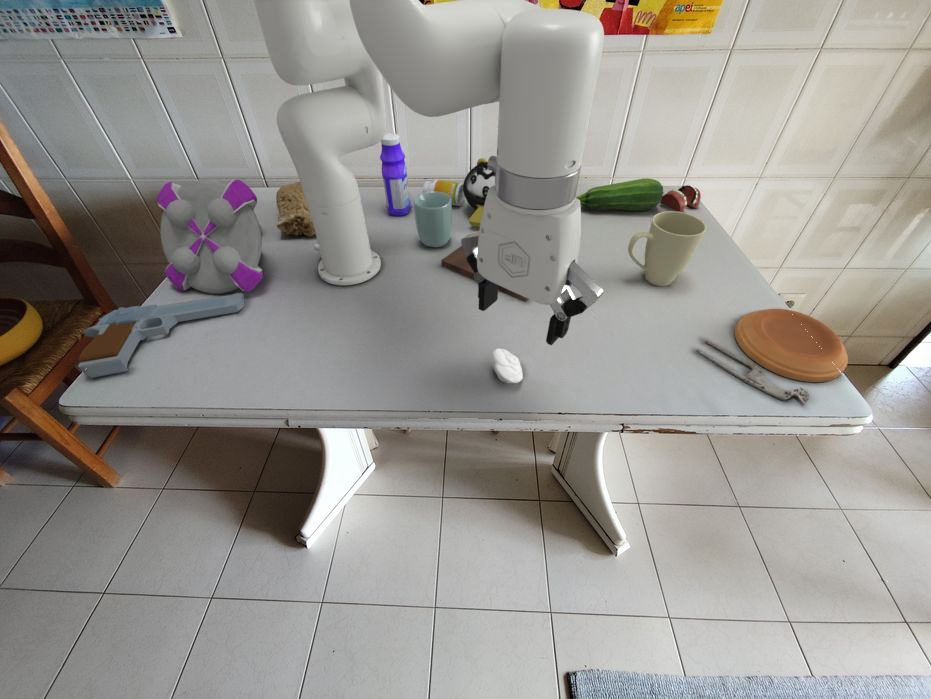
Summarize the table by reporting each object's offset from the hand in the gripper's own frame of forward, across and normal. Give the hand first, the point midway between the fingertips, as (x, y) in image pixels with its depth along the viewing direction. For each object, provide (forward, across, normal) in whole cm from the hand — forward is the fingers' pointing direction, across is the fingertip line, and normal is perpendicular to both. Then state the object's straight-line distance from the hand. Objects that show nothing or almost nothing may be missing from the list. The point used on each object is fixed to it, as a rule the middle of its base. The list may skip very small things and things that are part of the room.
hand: (520, 320), depth 51 cm
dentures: (+13, -3, +72) cm, 73 cm away
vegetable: (+16, -13, +65) cm, 68 cm away
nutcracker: (+15, +25, +25) cm, 39 cm away
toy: (+5, -61, -12) cm, 63 cm away
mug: (+16, +5, +42) cm, 45 cm away
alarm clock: (+16, -37, +44) cm, 60 cm away
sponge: (+16, -71, +15) cm, 74 cm away
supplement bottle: (+13, -45, +44) cm, 64 cm away
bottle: (+16, -55, +32) cm, 66 cm away
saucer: (+12, +29, +38) cm, 49 cm away
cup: (+16, -38, +26) cm, 49 cm away
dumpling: (+16, -3, +4) cm, 17 cm away
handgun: (+14, -48, -29) cm, 58 cm away
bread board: (+16, -21, +27) cm, 38 cm away
